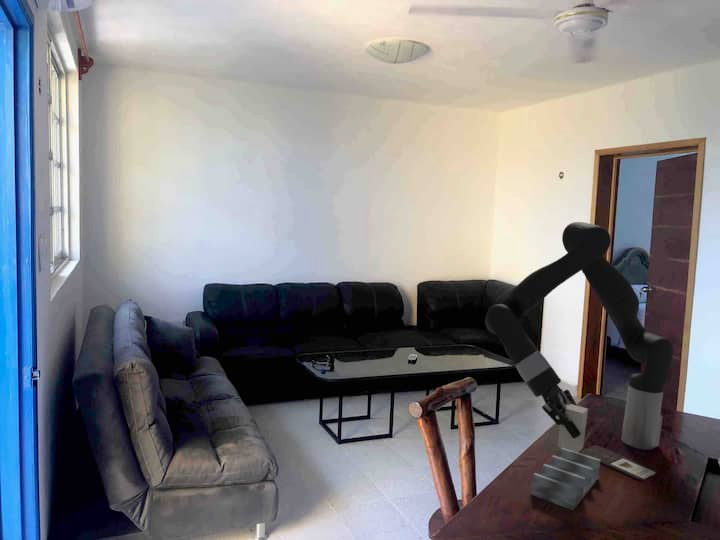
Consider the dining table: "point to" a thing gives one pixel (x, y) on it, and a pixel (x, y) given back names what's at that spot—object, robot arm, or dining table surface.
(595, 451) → the chocolate bar
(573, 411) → the clay bar
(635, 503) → the dining table surface
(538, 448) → the dining table surface
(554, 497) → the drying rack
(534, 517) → the dining table surface
